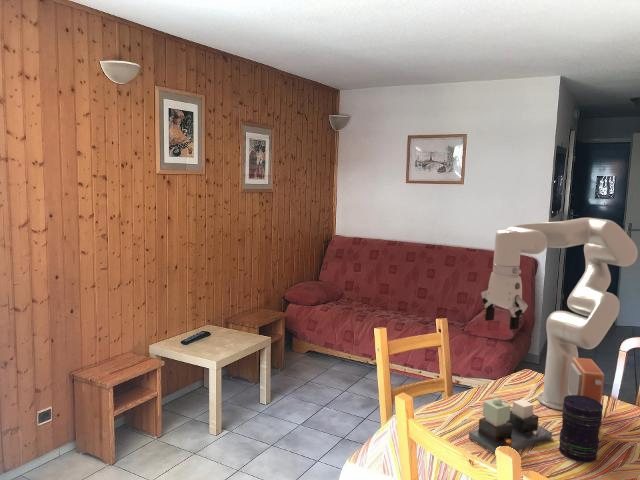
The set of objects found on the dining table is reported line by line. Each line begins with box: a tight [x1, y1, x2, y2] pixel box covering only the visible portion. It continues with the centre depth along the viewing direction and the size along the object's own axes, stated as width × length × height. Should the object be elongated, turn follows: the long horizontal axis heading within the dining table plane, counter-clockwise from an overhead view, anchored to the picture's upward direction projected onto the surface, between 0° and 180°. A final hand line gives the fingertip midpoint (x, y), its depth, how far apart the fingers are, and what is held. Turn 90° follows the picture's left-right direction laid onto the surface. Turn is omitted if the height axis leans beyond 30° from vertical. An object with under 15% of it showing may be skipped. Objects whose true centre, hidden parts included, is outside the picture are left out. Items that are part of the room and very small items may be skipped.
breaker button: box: [511, 399, 534, 419], centre depth 157 cm, size 4×4×5 cm
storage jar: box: [558, 395, 604, 464], centre depth 147 cm, size 10×10×15 cm
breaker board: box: [468, 409, 553, 455], centre depth 154 cm, size 22×11×6 cm, turn 119°
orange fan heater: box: [568, 357, 605, 404], centre depth 158 cm, size 21×7×15 cm
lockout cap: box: [482, 397, 512, 424], centre depth 152 cm, size 5×5×6 cm
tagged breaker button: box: [485, 418, 506, 427], centre depth 152 cm, size 4×4×5 cm
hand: (501, 324), depth 164 cm, fingers open, 9 cm apart
